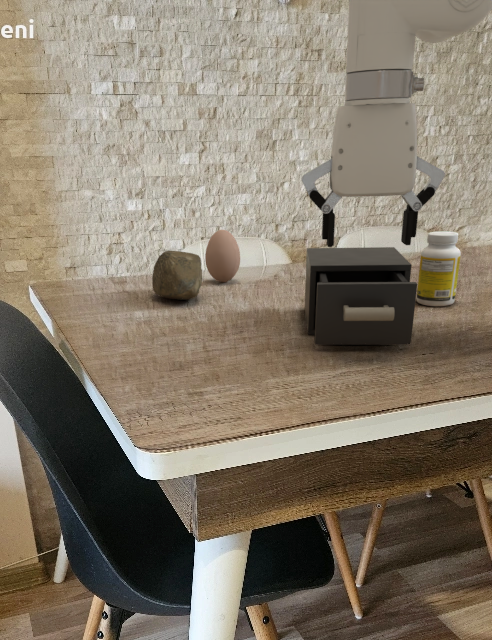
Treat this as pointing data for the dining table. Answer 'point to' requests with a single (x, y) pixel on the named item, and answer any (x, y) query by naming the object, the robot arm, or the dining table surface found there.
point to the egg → (222, 256)
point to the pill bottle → (439, 269)
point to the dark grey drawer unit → (347, 269)
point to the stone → (177, 275)
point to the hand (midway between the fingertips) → (367, 244)
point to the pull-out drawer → (364, 308)
